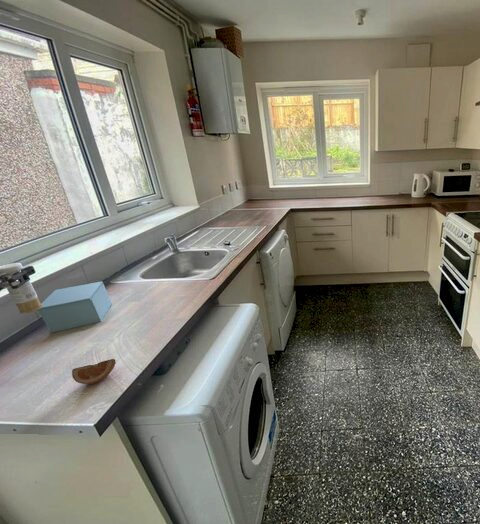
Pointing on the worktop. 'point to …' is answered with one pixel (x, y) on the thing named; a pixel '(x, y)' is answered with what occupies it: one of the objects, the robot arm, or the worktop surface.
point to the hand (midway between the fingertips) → (22, 270)
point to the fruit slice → (93, 372)
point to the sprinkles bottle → (22, 291)
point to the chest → (77, 312)
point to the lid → (71, 295)
